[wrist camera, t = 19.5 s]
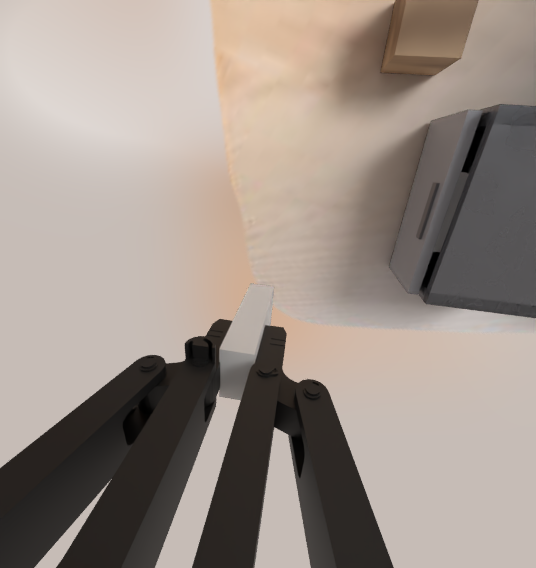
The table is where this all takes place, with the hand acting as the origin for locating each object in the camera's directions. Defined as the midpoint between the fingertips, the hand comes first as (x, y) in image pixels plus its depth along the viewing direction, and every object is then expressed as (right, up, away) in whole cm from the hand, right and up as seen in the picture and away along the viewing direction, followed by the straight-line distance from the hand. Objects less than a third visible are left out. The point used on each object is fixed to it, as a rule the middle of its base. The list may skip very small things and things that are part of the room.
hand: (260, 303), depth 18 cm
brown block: (+14, +24, +7) cm, 28 cm away
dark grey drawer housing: (+24, +10, +12) cm, 28 cm away
